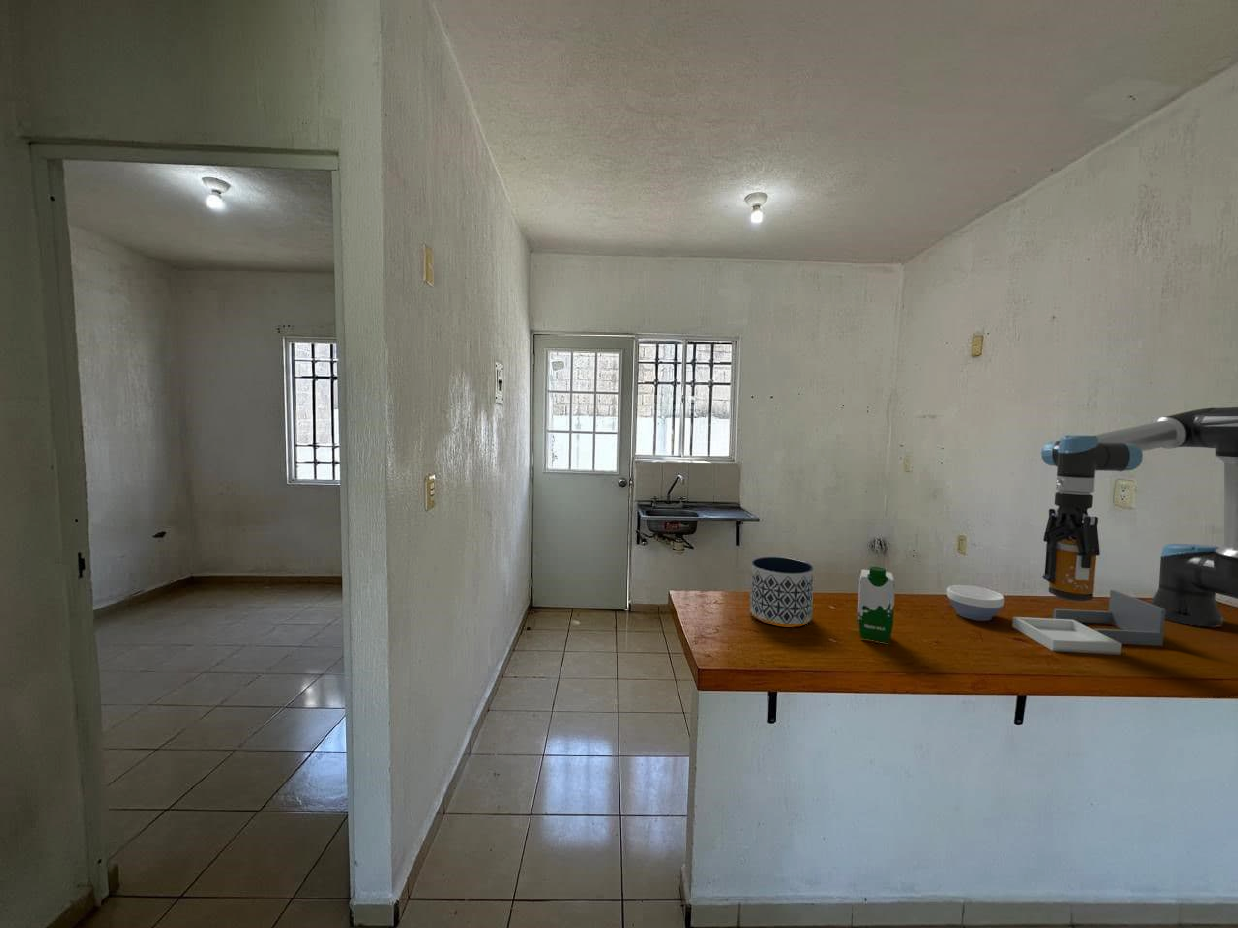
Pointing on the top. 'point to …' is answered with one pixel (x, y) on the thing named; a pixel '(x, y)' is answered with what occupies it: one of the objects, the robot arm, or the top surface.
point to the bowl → (975, 601)
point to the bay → (1124, 620)
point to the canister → (1066, 566)
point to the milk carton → (876, 604)
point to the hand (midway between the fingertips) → (1067, 574)
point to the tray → (1066, 635)
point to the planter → (781, 590)
